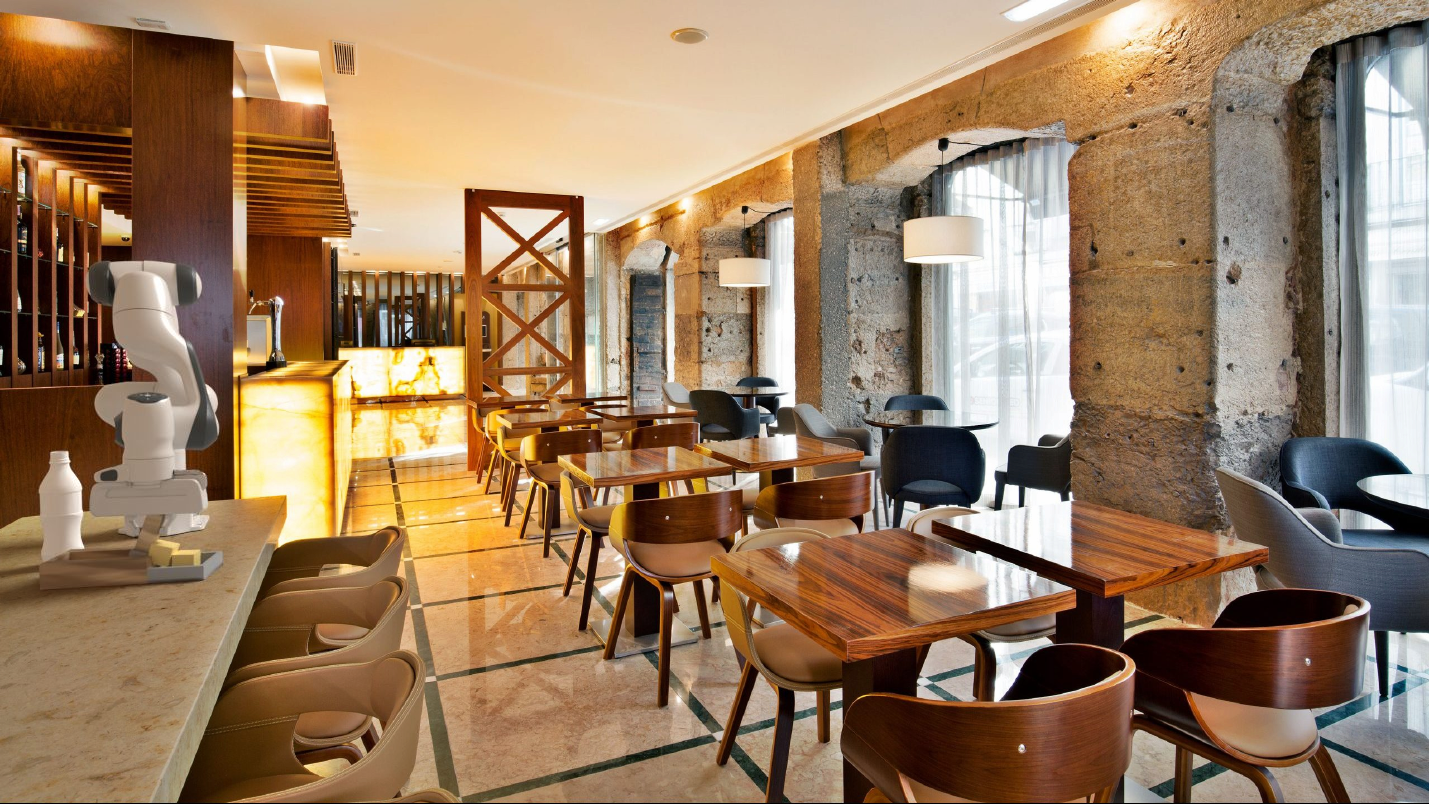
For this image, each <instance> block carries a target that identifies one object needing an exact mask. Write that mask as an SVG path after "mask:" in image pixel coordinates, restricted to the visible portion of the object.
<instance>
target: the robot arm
mask: <svg viewBox="0 0 1429 804" xmlns="http://www.w3.org/2000/svg"><path fill="white" fill-rule="evenodd" d="M202 284H203V283H202V280H201V277H200V275H199V273H198V272H197V270H196V268H194V267H193V266H192V265H189V264H185V263H182V262H177V263H172V262H165V261H157V260H144V261H143V260H142V261H140V260H128V261H127V260H124V261H111V260H102V261H98V262H94V263H92V265H90V266H89V268H88V271H87V273H86V275H85V288H86V290H87V292H88V295H90V298H91V300H93V301H94V302H96V303H97V304H99V305H101V306H107V307H111V308H112V326H113V333H114V338H115V340H116V342H117V343H118V344H119V345H120V346H121V347H122V348H123V350H125V352H126V357H127V359H128V360H129V361H130V363H131V364H132V365H134V366H135V367H137V368H140V369H142V370H144V371H147V372H149V373H150V374H152V375H153V376H154V377H155V379H156V380H157V381H123V382H118V383H117V382H116V383H111V384H106V385H104V386H103V387H102V388H101V389H99V391H98V392H97V394H96V396H95V398H94V408H95V412H96V413H97V415H98V416H99V417H100V419H101V420H103V421H104V422H105V423H107V424H109V425H111V426H112V427H114V432H115V438H114V443H116V444H117V445H119V446H120V447H122V448H124V449H123V453H122V464H121V463H119V464H115V465H112V466H111V467H107V468H104V469H101V470H98V471H97V472H95V473H94V475H93V479H94V482H96V483H95V484H94V485H93V486H92V488H91V490H90V494H89V495H90V497H89V513H90V514H91V516H93V517H94V518H104V517H105V518H107V517H124V526H123V527H120V528H118V530H117V533H118V534H121V535H122V534H123V535H127V536H129V537H132V538H138V537H139V535H140V532H141V529H142V526H143V524H144V521H145V518H146V515H165V519H166V520H165V523H164V526H162V527H160V528H159V531H160V533H159V535H160V537H163V536H164V537H165V536H171V535H172V536H173V535H177V534H178V535H179V534H182V533H183V534H184V533H188V532H194V531H200V530H201V531H202V530H203V529H205V527H206V525H207V524H208V522H209V520H210V515H209V514H207V515H206V514H200V513H203V512H204V511H205V510H207V508H208V507H209V502H208V501H209V499H208V493H207V487H208V477H207V475H206V473H204V472H203V471H200V470H199V469H187V467H186V466H187V464H186V463H187V461H186V460H187V459H186V457H187V456H186V451H187V450H188V451H189V450H191V451H192V450H193V451H204V450H205V449H207V448H209V447H210V446H212V445H213V443H215V442H216V441H217V440H218V437H219V433H220V424H219V421H218V418H217V414H216V412H217V409H218V406H219V402H218V395H217V393H216V391H214V389H213V388H212V387H211V386H209V385H208V384H206V382H205V378H204V375H203V371H202V368H201V364H200V362H199V358H198V355H197V352H196V350H195V348H194V345H193V344H192V341H190V340H189V339H186V338H185V337H183V336H182V335H181V334H180V327H179V320H178V313H177V309H176V307H179V308H180V310H183V309H185V307H189V306H193V305H194V304H195V303H196V302H198V301H199V298H200V296H201V293H202V290H203V289H202V288H203V285H202Z"/></svg>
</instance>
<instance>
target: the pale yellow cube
mask: <svg viewBox="0 0 1429 804" xmlns="http://www.w3.org/2000/svg"><path fill="white" fill-rule="evenodd" d="M201 552H202V551H201V549H180V550H179V549H178V551H177V552H176V553H174V554H173V555H172V567H174V566H193V565H200V557H201Z"/></svg>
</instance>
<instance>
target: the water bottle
mask: <svg viewBox="0 0 1429 804" xmlns="http://www.w3.org/2000/svg"><path fill="white" fill-rule="evenodd" d="M49 454H50V455H49V457H50V458H49V462H48V464H49V470H48V472H47V473H46V475H45V476H44V478H43V480H42V481H41V483H40V485H39V489H38V494H39V507H40V508H39V509H40V510H39V513H40V514H39V522H40V524H41V526H42V529H43V542H42V543H43V544H42V548H41V550H40V556H41V561H42V563H44V562H46V561H48V560H50V559H52V558H54V557H56V556H58V555H60V554H62V553H64V552H66V551H68V550H71V549H85V545H84V544H83V540H82V537H81V536H82V534H81V526H82V522H83V521H82V520H83V518H84V510H83V498H82V497H83V495H82V494H83V493H82V490H83V486H82V483H81V482H80V480H79V478H78V477H77V475H76V474H75V473H74V472H73V470H72V468H71V466H70V463H71V460H70V458H69V451H67V450H55V451H51V452H50V453H49Z"/></svg>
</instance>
